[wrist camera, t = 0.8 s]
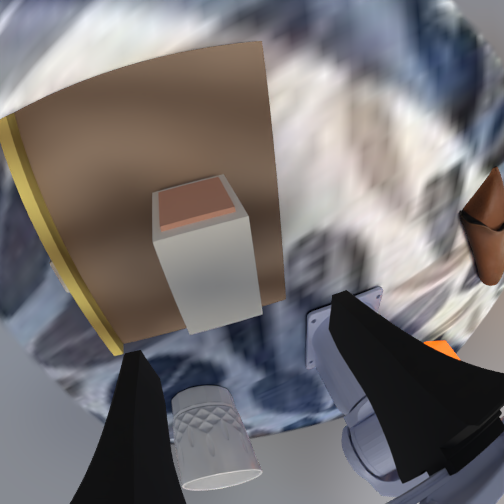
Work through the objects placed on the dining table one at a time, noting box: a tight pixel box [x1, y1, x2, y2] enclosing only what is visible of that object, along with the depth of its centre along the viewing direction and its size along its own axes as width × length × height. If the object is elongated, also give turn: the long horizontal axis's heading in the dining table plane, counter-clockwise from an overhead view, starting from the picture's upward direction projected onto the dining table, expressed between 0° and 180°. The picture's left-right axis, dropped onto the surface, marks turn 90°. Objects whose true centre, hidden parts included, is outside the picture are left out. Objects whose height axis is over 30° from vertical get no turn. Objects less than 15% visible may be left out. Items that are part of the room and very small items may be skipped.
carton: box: [152, 174, 263, 335], centre depth 16 cm, size 4×6×5 cm, turn 7°
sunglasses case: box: [460, 167, 504, 286], centre depth 28 cm, size 18×7×7 cm, turn 48°
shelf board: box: [0, 41, 286, 356], centre depth 17 cm, size 18×14×2 cm
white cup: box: [172, 385, 263, 490], centre depth 26 cm, size 8×8×10 cm
